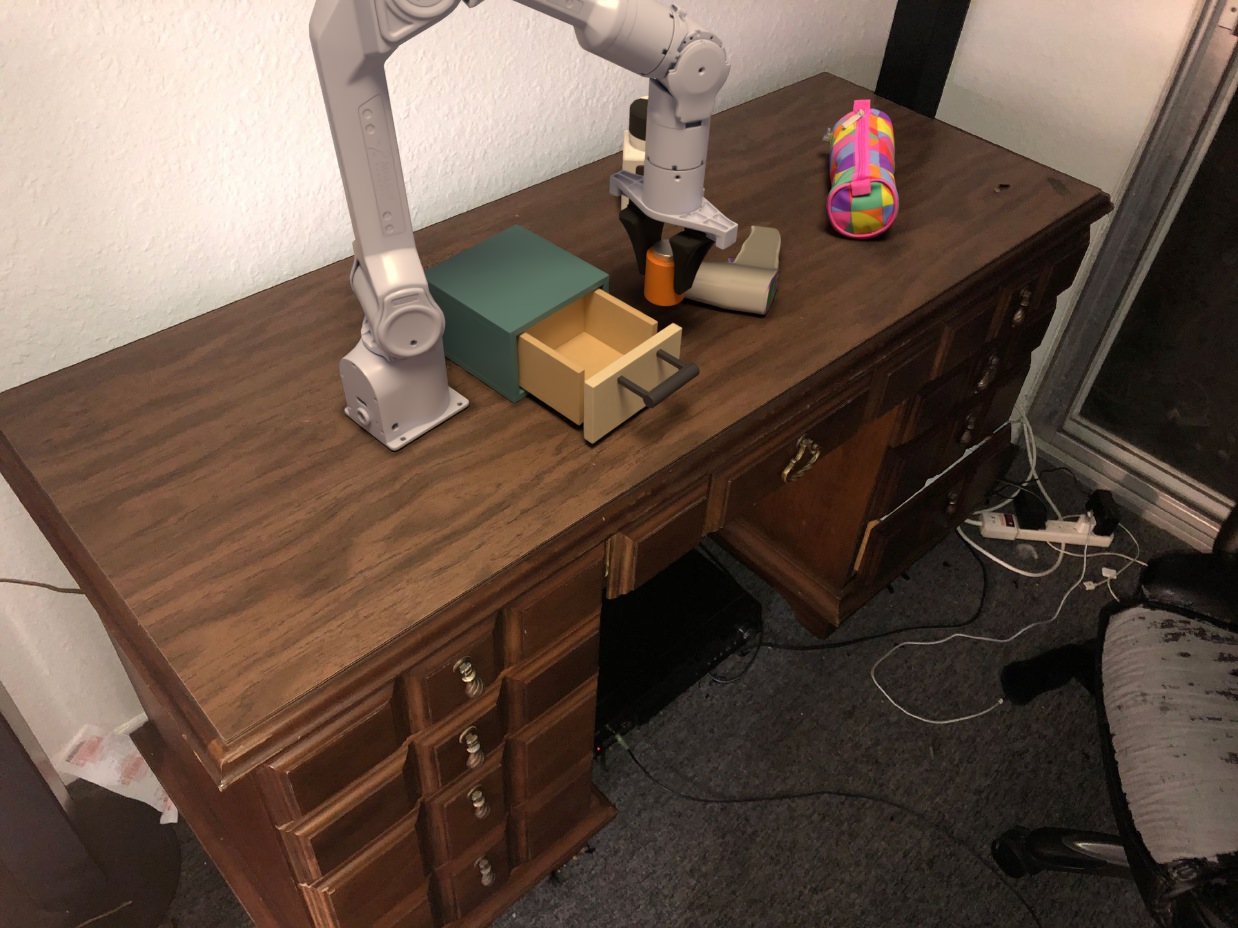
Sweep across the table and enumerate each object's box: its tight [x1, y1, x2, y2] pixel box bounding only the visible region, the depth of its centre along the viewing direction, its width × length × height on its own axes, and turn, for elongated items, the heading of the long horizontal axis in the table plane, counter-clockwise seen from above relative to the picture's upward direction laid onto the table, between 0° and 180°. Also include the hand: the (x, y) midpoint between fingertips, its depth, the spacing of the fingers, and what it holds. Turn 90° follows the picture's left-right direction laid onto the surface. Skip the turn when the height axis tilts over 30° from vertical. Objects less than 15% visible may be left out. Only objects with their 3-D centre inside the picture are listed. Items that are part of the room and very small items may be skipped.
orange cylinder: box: [643, 239, 685, 307], centre depth 96 cm, size 4×4×6 cm
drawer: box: [516, 288, 701, 444], centre depth 92 cm, size 17×12×7 cm
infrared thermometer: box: [684, 225, 782, 316], centre depth 110 cm, size 5×12×15 cm
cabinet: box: [423, 223, 610, 404], centre depth 98 cm, size 14×14×9 cm
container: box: [620, 95, 648, 211], centre depth 119 cm, size 8×8×13 cm
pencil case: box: [821, 99, 900, 240], centre depth 121 cm, size 22×9×9 cm, turn 172°
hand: (665, 280), depth 97 cm, fingers closed on orange cylinder, 4 cm apart
